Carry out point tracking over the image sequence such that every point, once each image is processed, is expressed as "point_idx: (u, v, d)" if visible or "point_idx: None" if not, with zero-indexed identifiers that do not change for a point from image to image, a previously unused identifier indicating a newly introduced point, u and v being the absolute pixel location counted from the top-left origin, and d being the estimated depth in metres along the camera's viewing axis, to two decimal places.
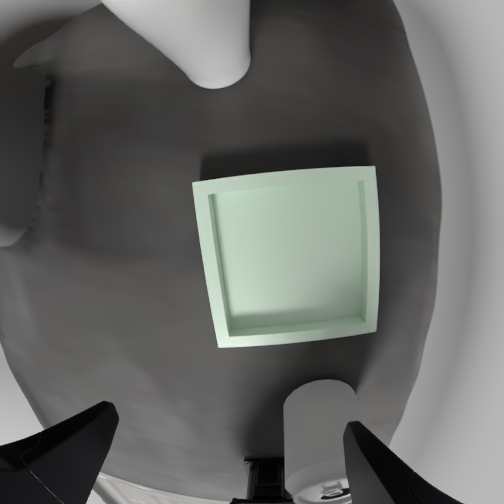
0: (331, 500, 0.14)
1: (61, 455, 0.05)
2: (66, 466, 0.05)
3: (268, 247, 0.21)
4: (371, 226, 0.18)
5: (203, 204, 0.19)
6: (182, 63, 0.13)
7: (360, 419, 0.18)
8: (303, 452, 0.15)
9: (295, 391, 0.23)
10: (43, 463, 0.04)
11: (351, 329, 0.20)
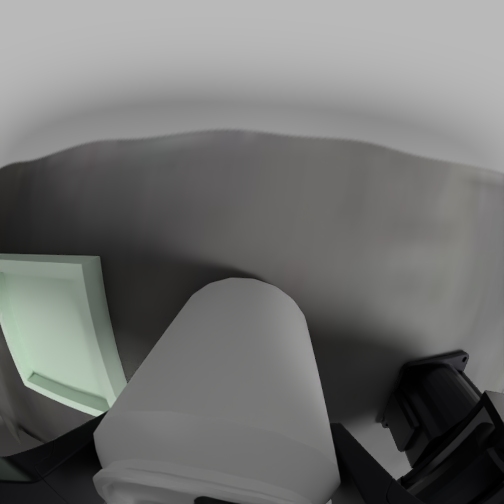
0: None
1: (76, 463, 0.05)
2: (82, 474, 0.05)
3: (49, 351, 0.17)
4: (8, 268, 0.14)
5: (31, 385, 0.17)
6: None
7: (161, 337, 0.10)
8: None
9: None
10: (59, 472, 0.04)
11: (80, 299, 0.14)
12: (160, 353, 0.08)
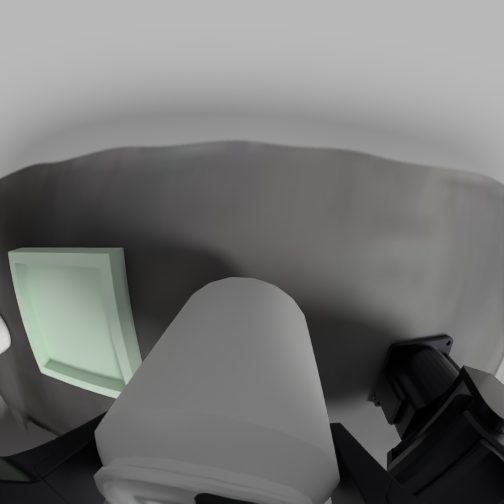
0: None
1: (76, 463, 0.05)
2: (82, 474, 0.05)
3: (68, 337, 0.20)
4: (33, 259, 0.17)
5: (48, 371, 0.19)
6: None
7: (162, 336, 0.10)
8: None
9: None
10: (59, 472, 0.04)
11: (106, 285, 0.17)
12: (161, 352, 0.08)
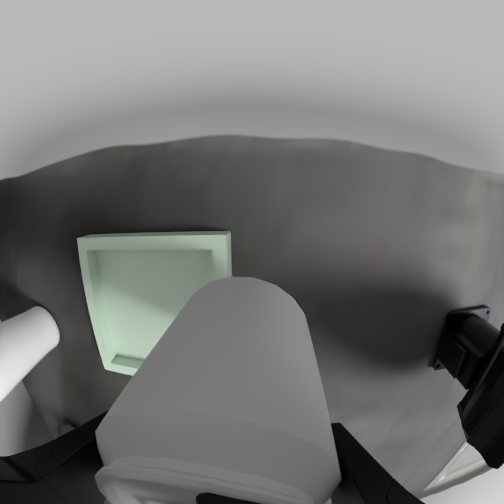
0: None
1: (76, 463, 0.05)
2: (82, 474, 0.05)
3: (148, 328, 0.22)
4: (117, 245, 0.19)
5: (116, 367, 0.22)
6: (32, 363, 0.19)
7: (163, 336, 0.10)
8: None
9: None
10: (59, 472, 0.04)
11: (218, 266, 0.19)
12: (162, 351, 0.08)
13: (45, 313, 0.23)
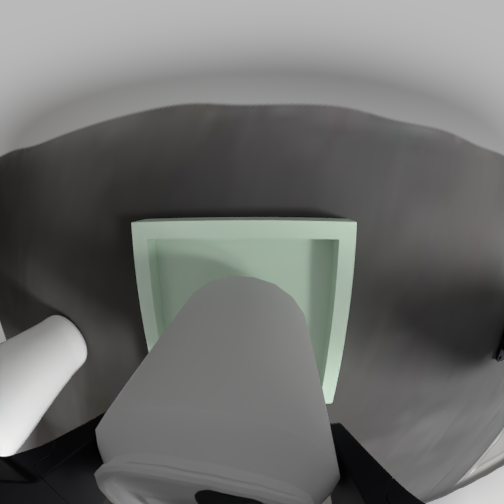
0: None
1: (76, 464, 0.05)
2: (82, 474, 0.05)
3: None
4: (200, 231, 0.15)
5: None
6: (56, 392, 0.14)
7: (162, 335, 0.10)
8: None
9: None
10: (59, 472, 0.04)
11: (344, 261, 0.15)
12: (161, 350, 0.08)
13: (68, 324, 0.18)
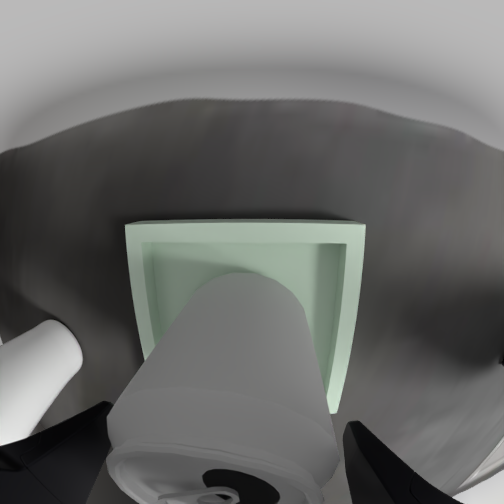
0: (290, 497, 0.05)
1: (61, 456, 0.05)
2: (66, 466, 0.05)
3: None
4: (197, 235, 0.14)
5: None
6: (51, 400, 0.13)
7: (169, 328, 0.10)
8: None
9: None
10: (43, 463, 0.04)
11: (352, 266, 0.14)
12: (169, 340, 0.09)
13: (63, 330, 0.17)
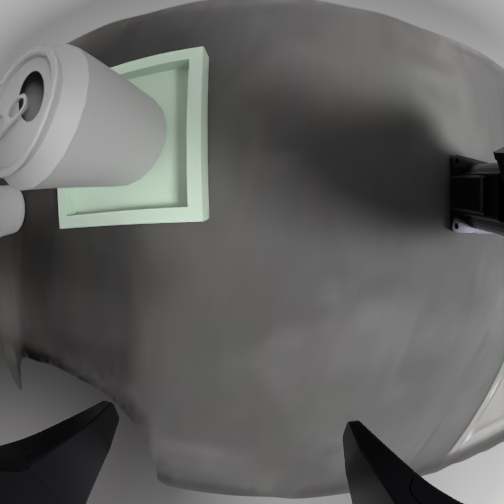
0: (47, 93, 0.07)
1: (61, 455, 0.05)
2: (66, 466, 0.05)
3: None
4: None
5: (72, 220, 0.18)
6: None
7: None
8: None
9: None
10: (43, 463, 0.04)
11: (194, 71, 0.16)
12: None
13: None
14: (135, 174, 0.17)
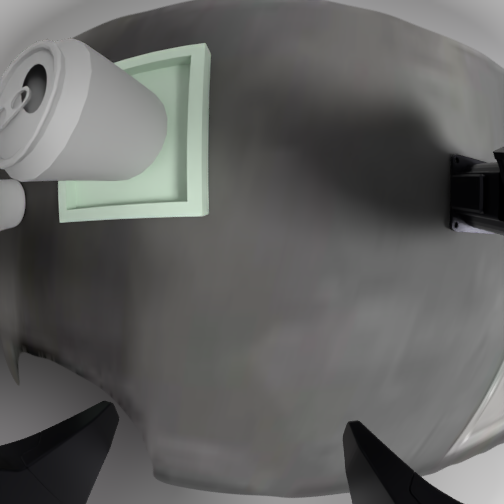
0: (50, 85, 0.07)
1: (61, 456, 0.05)
2: (66, 466, 0.05)
3: None
4: None
5: (71, 214, 0.18)
6: None
7: None
8: None
9: None
10: (43, 463, 0.04)
11: (195, 67, 0.15)
12: None
13: (16, 182, 0.19)
14: (136, 169, 0.17)
